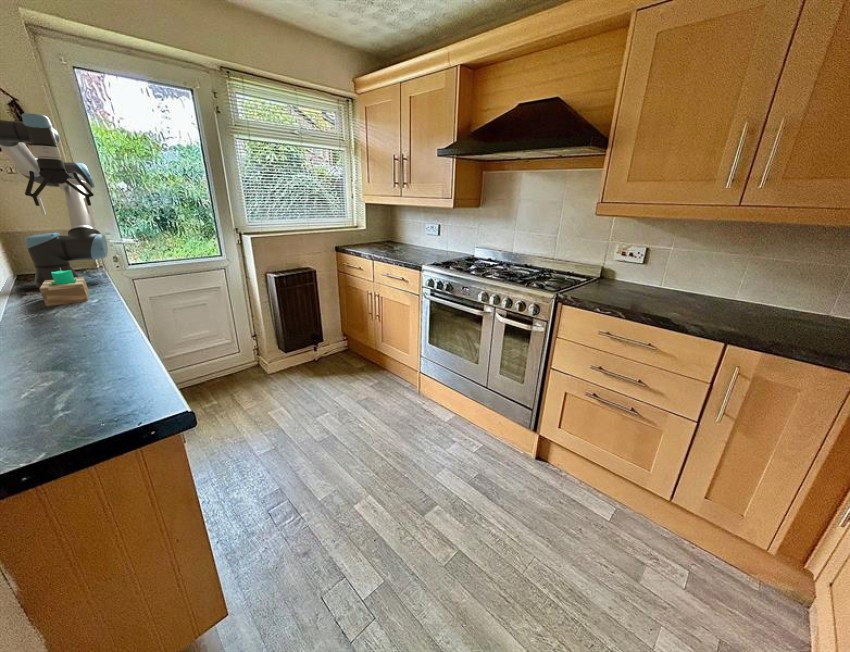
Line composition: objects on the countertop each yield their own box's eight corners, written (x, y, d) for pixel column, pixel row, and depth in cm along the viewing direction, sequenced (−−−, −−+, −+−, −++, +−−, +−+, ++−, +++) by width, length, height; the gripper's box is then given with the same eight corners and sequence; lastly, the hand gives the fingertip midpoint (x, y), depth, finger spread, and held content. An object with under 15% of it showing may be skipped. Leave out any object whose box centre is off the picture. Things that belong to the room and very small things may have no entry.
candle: (84, 294, 147) (74, 266, 143) (70, 298, 142) (59, 269, 138) (70, 294, 148) (60, 266, 143) (55, 298, 142) (45, 269, 138)
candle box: (50, 296, 147) (44, 280, 144) (89, 292, 154) (83, 276, 152) (46, 306, 135) (39, 288, 133) (87, 300, 143) (82, 284, 140)
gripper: (0, 155, 129) (22, 215, 137) (90, 160, 145) (106, 213, 152) (4, 156, 135) (25, 214, 142) (91, 161, 150) (106, 213, 157)
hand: (67, 214), depth 147 cm, fingers open, 13 cm apart
